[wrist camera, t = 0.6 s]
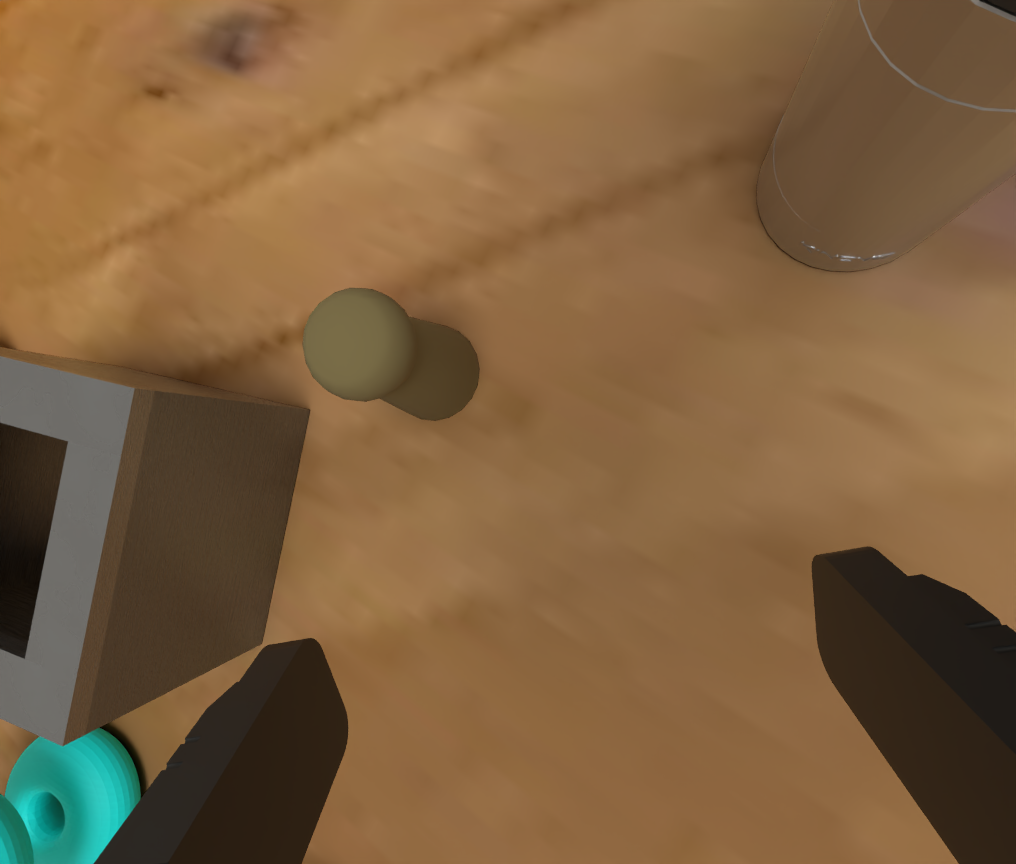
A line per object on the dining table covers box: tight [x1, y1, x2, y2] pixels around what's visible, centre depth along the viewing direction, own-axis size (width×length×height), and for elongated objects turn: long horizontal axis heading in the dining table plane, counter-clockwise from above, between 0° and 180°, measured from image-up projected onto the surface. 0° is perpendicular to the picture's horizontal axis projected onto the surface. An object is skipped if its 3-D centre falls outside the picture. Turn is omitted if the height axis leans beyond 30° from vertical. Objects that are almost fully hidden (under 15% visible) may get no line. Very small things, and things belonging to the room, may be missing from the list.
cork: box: [303, 288, 479, 421], centre depth 29 cm, size 6×6×11 cm
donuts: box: [0, 728, 141, 864], centre depth 35 cm, size 10×10×10 cm
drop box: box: [0, 347, 310, 746], centre depth 32 cm, size 16×16×13 cm
